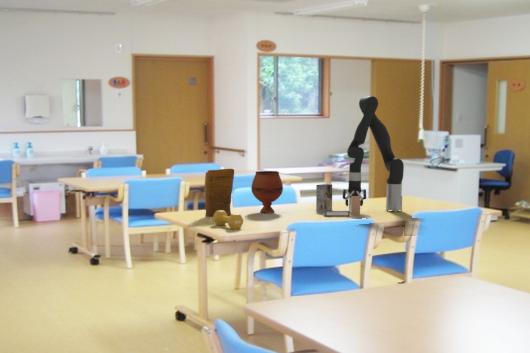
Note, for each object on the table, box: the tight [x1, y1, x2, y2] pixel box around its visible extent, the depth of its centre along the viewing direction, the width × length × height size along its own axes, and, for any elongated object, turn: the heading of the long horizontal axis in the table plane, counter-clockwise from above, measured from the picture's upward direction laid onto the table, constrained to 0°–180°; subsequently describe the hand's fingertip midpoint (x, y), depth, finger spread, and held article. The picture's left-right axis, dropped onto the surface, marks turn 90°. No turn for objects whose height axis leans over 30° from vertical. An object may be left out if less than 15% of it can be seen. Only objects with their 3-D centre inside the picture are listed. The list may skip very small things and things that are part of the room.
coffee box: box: [315, 183, 333, 212], centre depth 464 cm, size 9×6×16 cm
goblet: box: [251, 170, 284, 214], centre depth 451 cm, size 19×19×25 cm
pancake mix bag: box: [204, 168, 235, 218], centre depth 433 cm, size 7×19×28 cm, turn 115°
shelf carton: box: [348, 195, 361, 215], centre depth 451 cm, size 5×8×11 cm, turn 6°
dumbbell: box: [212, 210, 244, 230], centre depth 397 cm, size 19×9×8 cm, turn 36°
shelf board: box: [321, 210, 351, 217], centre depth 444 cm, size 15×12×3 cm
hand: (354, 206), depth 451 cm, fingers open, 8 cm apart
